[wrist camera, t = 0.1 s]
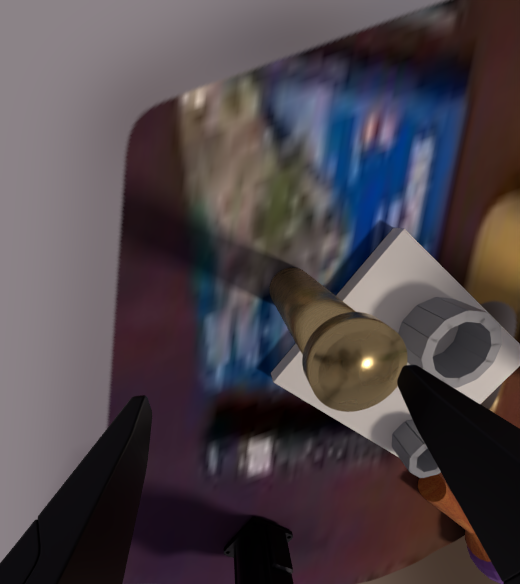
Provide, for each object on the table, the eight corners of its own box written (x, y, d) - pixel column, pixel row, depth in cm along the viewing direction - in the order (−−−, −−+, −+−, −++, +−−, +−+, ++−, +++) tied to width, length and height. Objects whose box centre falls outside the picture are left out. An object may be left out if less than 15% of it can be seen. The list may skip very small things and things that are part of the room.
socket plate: (406, 455, 34) (437, 496, 29) (270, 373, 27) (281, 407, 23) (516, 348, 31) (570, 373, 26) (393, 227, 25) (434, 232, 20)
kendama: (470, 488, 31) (542, 570, 36) (427, 452, 37) (494, 527, 42) (436, 528, 31) (513, 605, 36) (398, 485, 37) (468, 557, 41)
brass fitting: (293, 322, 26) (359, 426, 14) (254, 294, 25) (288, 382, 12) (326, 283, 25) (426, 356, 13) (287, 252, 24) (359, 301, 12)
